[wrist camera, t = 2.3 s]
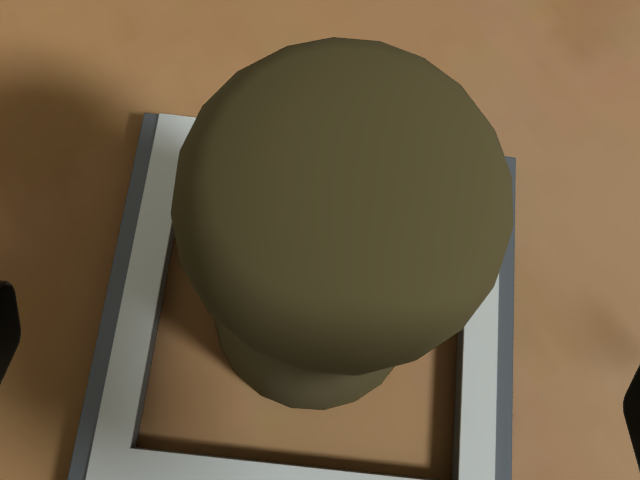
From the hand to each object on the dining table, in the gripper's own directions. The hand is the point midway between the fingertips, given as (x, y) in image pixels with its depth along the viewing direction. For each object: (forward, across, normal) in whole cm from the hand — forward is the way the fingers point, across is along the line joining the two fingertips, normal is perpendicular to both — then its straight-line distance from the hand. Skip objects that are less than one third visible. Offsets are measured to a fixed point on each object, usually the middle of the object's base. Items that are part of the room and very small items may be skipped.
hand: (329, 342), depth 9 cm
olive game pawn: (+8, 0, +5) cm, 10 cm away
